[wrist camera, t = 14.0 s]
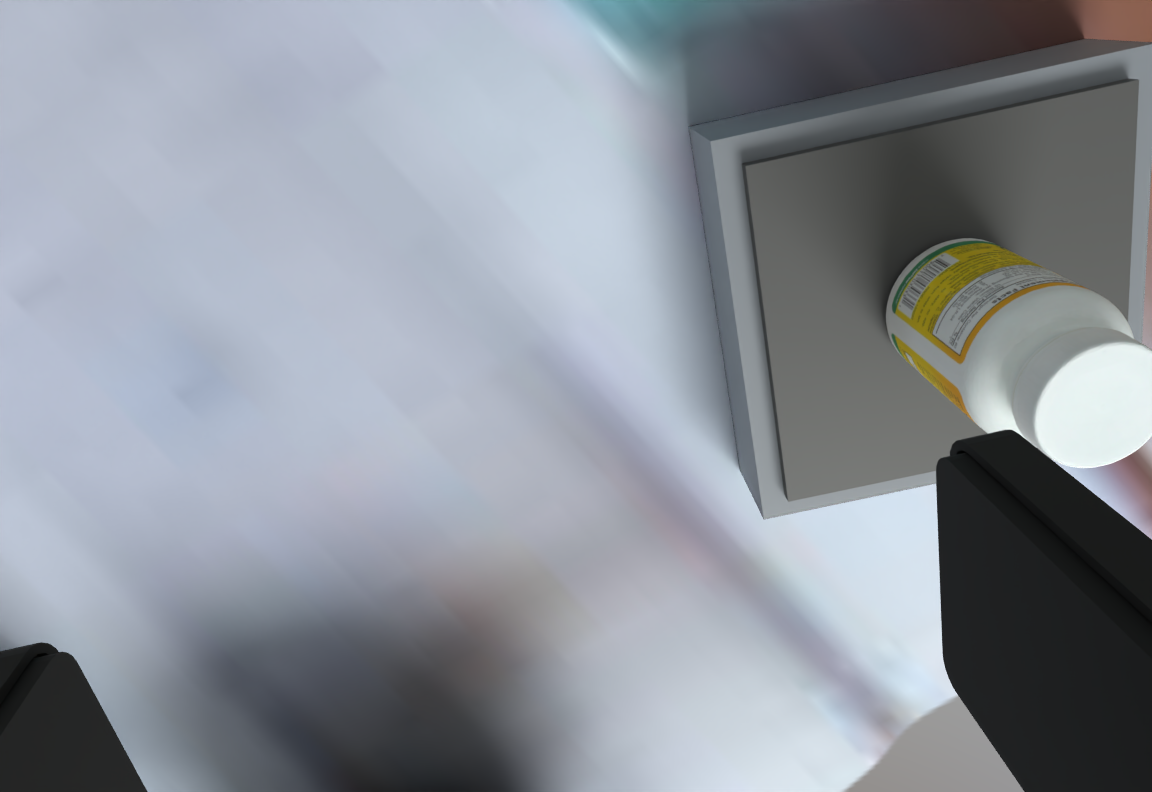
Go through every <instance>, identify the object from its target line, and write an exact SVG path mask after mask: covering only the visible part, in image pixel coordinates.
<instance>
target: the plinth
mask: <svg viewBox="0 0 1152 792" xmlns="http://www.w3.org/2000/svg"><path fill="white" fill-rule="evenodd" d="M689 132H690V139H691V145H692V152H693V159H694V165H695V172H696V179H697V185H698V192H699V199H700V205H701V212H702V219H703V225H704V232H705V239H706V245H707V252H708V259H709V265H710V272H711V279H712V285H713V292H714V299H715V305H716V312H717V319H718V325H719V332H720V339H721V345H722V352H723V359H724V365H725V372H726V379H727V385H728V392H729V399H730V405H731V412H732V419H733V425H734V432H735V439H736V445H737V452H738V459H739V465H740V471H741V473H742V475H743V477H744V480H745V482H746V484H747V486H748V488H749V490H750V492H751V494H752V496H753V498H754V500H755V502H756V504H757V506H758V508H759V511H760V513H761V515H762V517H763V519H769V518H773V517H778V516H783V515H788V514H793V513H797V512H802V511H807V510H812V509H816V508H821V507H826V506H831V505H836V504H840V503H845V502H850V501H855V500H859V499H864V498H869V497H874V496H879V495H883V494H888V493H893V492H898V491H902V490H907V489H912V488H917V487H922V486H926V485H931V484H936V466H937V462H938V460H939V459H940V458H943V457H947V456H950V450H951V447H952V444H953V443H954V442H955V441H957V440H961V439H966V438H970V437H975V436H979V435H984V434H988V433H987V432H985V431H984V430H983V429H982V428H980V427H979V426H978V425H977V424H976V423H975V422H973V421H972V420H971V419H970V418H969V417H968V416H967V415H966V414H965V413H964V412H962V411H961V410H960V409H959V408H958V407H957V406H956V405H955V404H954V403H952V402H951V401H950V400H949V399H948V398H947V397H946V396H945V395H944V394H942V393H941V392H940V391H939V390H938V389H937V388H936V387H935V386H934V385H933V384H932V383H930V382H929V381H928V380H927V379H926V378H925V377H924V376H922V375H921V374H920V373H919V372H918V371H917V370H916V369H915V368H913V367H912V366H911V365H910V364H909V363H908V362H907V361H906V360H905V359H904V358H903V357H902V356H901V355H900V354H899V353H898V351H897V350H896V349H895V347H894V345H893V344H892V342H891V340H890V337H889V334H888V330H887V324H886V309H887V303H888V299H889V295H890V293H891V290H892V288H893V286H894V284H895V282H896V280H897V278H898V277H899V275H900V274H901V273H902V271H903V270H904V269H905V268H906V267H907V265H908V264H909V263H910V262H911V261H912V260H914V259H915V258H916V257H917V256H919V255H920V254H922V253H923V252H924V251H926V250H928V249H929V248H931V247H933V246H935V245H938V244H940V243H943V242H946V241H950V240H955V239H962V238H974V239H981V240H985V241H989V242H991V243H993V244H996V245H998V246H1001V247H1003V248H1005V249H1007V250H1009V251H1011V252H1013V253H1015V254H1017V255H1019V256H1021V257H1023V258H1025V259H1027V260H1029V261H1031V262H1033V263H1035V264H1038V265H1040V266H1042V267H1044V268H1046V269H1048V270H1050V271H1052V272H1054V273H1056V274H1058V275H1060V276H1062V277H1064V278H1066V279H1068V280H1070V281H1072V282H1075V283H1077V284H1079V285H1081V286H1083V287H1085V288H1087V289H1089V290H1091V291H1093V292H1095V293H1097V294H1099V295H1101V296H1102V297H1104V298H1106V299H1107V300H1109V301H1110V302H1111V303H1112V304H1113V305H1115V306H1116V307H1117V308H1118V309H1119V311H1120V312H1121V313H1122V314H1123V316H1124V317H1125V319H1126V320H1127V322H1128V324H1129V326H1130V328H1131V331H1132V333H1133V337H1134V339H1135V340H1137V341H1138V342H1140V343H1142V332H1143V314H1144V295H1145V276H1146V258H1147V239H1148V220H1149V202H1150V183H1151V164H1152V42H1135V41H1116V40H1097V39H1082V40H1078V41H1073V42H1069V43H1064V44H1060V45H1055V46H1051V47H1046V48H1042V49H1037V50H1033V51H1028V52H1024V53H1019V54H1015V55H1010V56H1006V57H1001V58H997V59H992V60H988V61H983V62H979V63H974V64H969V65H965V66H960V67H956V68H951V69H947V70H942V71H938V72H933V73H929V74H924V75H920V76H915V77H911V78H906V79H902V80H897V81H893V82H888V83H884V84H879V85H875V86H870V87H866V88H861V89H856V90H852V91H847V92H843V93H838V94H834V95H829V96H825V97H820V98H816V99H811V100H807V101H802V102H798V103H793V104H789V105H784V106H780V107H775V108H771V109H766V110H762V111H757V112H753V113H748V114H743V115H739V116H734V117H730V118H725V119H721V120H716V121H712V122H707V123H703V124H698V125H694V126H689ZM1037 449H1038V448H1037ZM1039 450H1040V449H1039ZM1040 451H1041V450H1040ZM1041 452H1042V451H1041ZM1042 453H1043V452H1042ZM1044 454H1045V453H1044ZM1045 455H1046V454H1045ZM1046 456H1047V455H1046ZM1047 457H1048V456H1047ZM1049 458H1050V457H1049ZM1050 459H1052V458H1050Z"/></svg>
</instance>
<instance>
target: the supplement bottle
mask: <svg viewBox="0 0 1152 792" xmlns="http://www.w3.org/2000/svg"><path fill="white" fill-rule="evenodd" d="M886 324H887V330H888V334H889V337H890V340H891V342H892V344H893V345H894V347H895V349H896V350H897V351H898V353H899V354H900V355H901V356H902V357H903V358H904V359H905V360H906V361H907V362H908V363H909V364H910V365H911V366H912V367H913V368H915V369H916V370H917V371H918V372H919V373H920V374H921V375H922V376H924V377H925V378H926V379H927V380H928V381H929V382H930V383H932V384H933V385H934V386H935V387H936V388H937V389H938V390H939V391H940V392H941V393H942V394H944V395H945V396H946V397H947V398H948V399H949V400H950V401H951V402H952V403H954V404H955V405H956V406H957V407H958V408H959V409H960V410H961V411H962V412H964V413H965V414H966V415H967V416H968V417H969V418H970V419H971V420H972V421H973V422H975V423H976V424H977V425H978V426H979V427H980V428H982V429H983V430H984V431H985V432H987V433H993V432H997V431H1002V430H1013V431H1015V432H1017V433H1018V434H1020V435H1021V436H1022V437H1023V438H1025V439H1026V440H1027V441H1029V442H1030V443H1031V444H1032V445H1034V446H1035V447H1036V448H1038V449H1040V450H1041V451H1042V452H1043V453H1045V454H1046V455H1047V456H1048V457H1050V458H1052V459H1053V460H1055V461H1057V462H1058V463H1060V464H1063V465H1067V466H1071V467H1077V468H1094V467H1099V466H1104V465H1108V464H1111V463H1113V462H1116V461H1118V460H1120V459H1123V458H1124V457H1126V456H1128V455H1130V454H1131V453H1133V452H1135V451H1136V450H1137V449H1139V448H1140V447H1141V446H1142V445H1143V444H1144V443H1146V442H1147V441H1148V440H1149V438H1150V437H1151V436H1152V350H1151V349H1150V348H1148V347H1147V346H1145V345H1144V344H1142V343H1140V342H1138V341H1137V340H1135V339H1134V337H1133V333H1132V331H1131V328H1130V326H1129V324H1128V322H1127V320H1126V319H1125V317H1124V316H1123V314H1122V313H1121V312H1120V311H1119V309H1118V308H1117V307H1116V306H1115V305H1113V304H1112V303H1111V302H1110V301H1109V300H1107V299H1106V298H1104V297H1102V296H1101V295H1099V294H1097V293H1095V292H1093V291H1091V290H1089V289H1087V288H1085V287H1083V286H1081V285H1079V284H1077V283H1075V282H1072V281H1070V280H1068V279H1066V278H1064V277H1062V276H1060V275H1058V274H1056V273H1054V272H1052V271H1050V270H1048V269H1046V268H1044V267H1042V266H1040V265H1038V264H1035V263H1033V262H1031V261H1029V260H1027V259H1025V258H1023V257H1021V256H1019V255H1017V254H1015V253H1013V252H1011V251H1009V250H1007V249H1005V248H1003V247H1001V246H998V245H996V244H993V243H991V242H989V241H985V240H981V239H974V238H962V239H955V240H950V241H946V242H943V243H940V244H938V245H935V246H933V247H931V248H929V249H928V250H926V251H924V252H923V253H922V254H920V255H919V256H917V257H916V258H915V259H914V260H912V261H911V262H910V263H909V264H908V265H907V267H906V268H905V269H904V270H903V271H902V273H901V274H900V275H899V277H898V278H897V280H896V282H895V284H894V286H893V288H892V290H891V293H890V295H889V299H888V303H887V309H886Z"/></svg>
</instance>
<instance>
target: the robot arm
mask: <svg viewBox="0 0 1152 792" xmlns="http://www.w3.org/2000/svg"><path fill="white" fill-rule="evenodd" d="M936 486H937V513H938V539H939V566H940V593H941V620H942V646H943V660H944V664H945V668H946V671H947V674H948V677H949V679H950V682H951V684H952V686H953V688H954V689H955V691H956V693H957V694H958V696H959V697H960V698H961V700H962V701H963V703H964V704H965V705H966V707H967V708H968V710H969V712H970V713H971V714H972V716H973V717H974V719H975V720H976V721H977V723H978V725H979V726H980V728H981V729H982V730H983V732H984V733H985V735H986V736H987V738H988V739H989V741H990V742H991V744H992V745H993V746H994V748H995V749H996V751H997V752H998V754H999V755H1000V757H1001V758H1002V759H1003V761H1004V762H1005V764H1006V765H1007V767H1008V768H1009V770H1010V771H1011V772H1012V774H1013V775H1014V777H1015V778H1016V780H1017V781H1018V783H1019V784H1020V786H1021V787H1022V788H1023V790H1024V791H1025V792H1152V540H1151V539H1150V538H1149V537H1148V536H1146V535H1145V534H1144V533H1143V532H1141V531H1140V530H1139V529H1138V528H1136V527H1135V526H1134V525H1133V524H1131V523H1130V522H1129V521H1128V520H1126V519H1125V518H1124V517H1123V516H1121V515H1120V514H1119V513H1118V512H1116V511H1115V510H1114V509H1112V508H1111V507H1110V506H1109V505H1107V504H1106V503H1105V502H1104V501H1102V500H1101V499H1100V498H1099V497H1097V496H1096V495H1095V494H1094V493H1092V492H1091V491H1090V490H1089V489H1087V488H1086V487H1085V486H1084V485H1082V484H1081V483H1080V482H1079V481H1077V480H1076V479H1075V478H1074V477H1072V476H1071V475H1070V474H1069V473H1067V472H1066V471H1065V470H1064V469H1062V468H1061V467H1060V466H1059V465H1057V464H1056V463H1055V462H1054V461H1052V460H1051V459H1050V458H1049V457H1047V456H1046V455H1045V454H1044V453H1042V452H1041V451H1040V450H1039V449H1037V448H1036V447H1035V446H1034V445H1032V444H1031V443H1030V442H1029V441H1027V440H1026V439H1025V438H1023V437H1022V436H1021V435H1020V434H1018V433H1017V432H1015V431H1013V430H1002V431H997V432H993V433H988V434H984V435H979V436H975V437H970V438H966V439H961V440H957V441H955V442H954V443H953V444H952V447H951V450H950V456H947V457H943V458H940V459H939V460H938V462H937V466H936ZM0 792H147V790H146V788H145V786H144V785H143V783H142V781H141V779H140V777H139V775H138V774H137V772H136V770H135V768H134V766H133V764H132V762H131V761H130V759H129V757H128V755H127V753H126V751H125V750H124V748H123V746H122V744H121V742H120V740H119V738H118V737H117V735H116V733H115V731H114V729H113V727H112V726H111V724H110V722H109V720H108V718H107V716H106V714H105V713H104V711H103V709H102V707H101V705H100V703H99V702H98V700H97V698H96V696H95V694H94V692H93V690H92V689H91V687H90V685H89V683H88V681H87V679H86V678H85V676H84V674H83V672H82V670H81V668H80V666H79V665H78V663H77V661H76V660H75V659H74V657H73V656H72V655H70V654H69V653H66V652H58V650H57V649H56V648H55V647H53V646H52V645H50V644H48V643H36V644H32V645H27V646H23V647H18V648H14V649H9V650H5V651H0Z"/></svg>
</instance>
